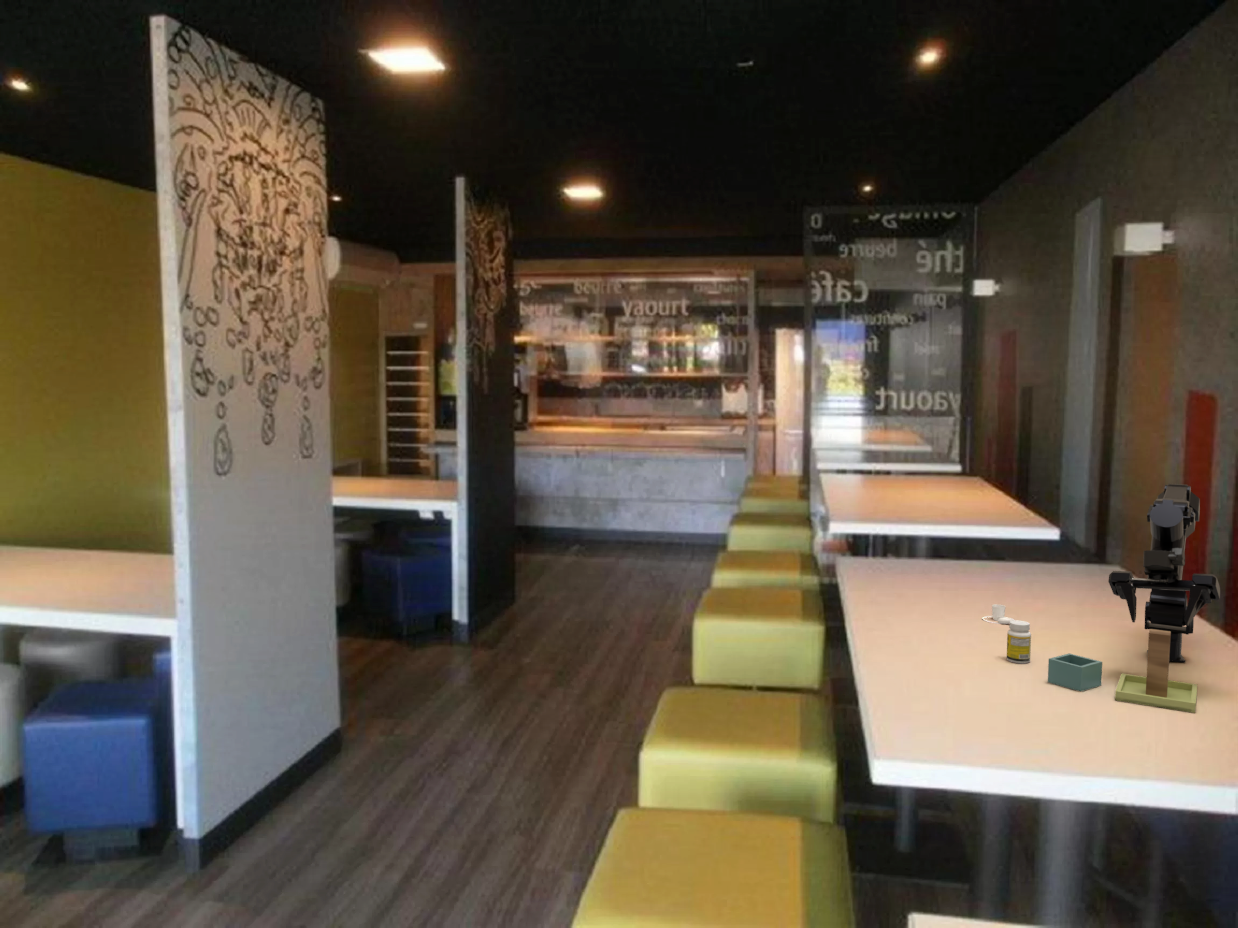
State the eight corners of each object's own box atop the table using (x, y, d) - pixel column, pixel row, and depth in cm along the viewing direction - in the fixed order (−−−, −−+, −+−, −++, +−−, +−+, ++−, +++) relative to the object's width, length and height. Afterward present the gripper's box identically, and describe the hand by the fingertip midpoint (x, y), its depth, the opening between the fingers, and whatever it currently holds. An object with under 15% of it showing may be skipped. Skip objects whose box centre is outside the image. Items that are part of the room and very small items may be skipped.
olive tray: (1121, 681, 194) (1121, 673, 194) (1196, 693, 187) (1197, 684, 187) (1115, 700, 183) (1115, 690, 183) (1195, 712, 176) (1195, 703, 176)
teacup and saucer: (1016, 627, 238) (1017, 611, 237) (982, 624, 240) (982, 608, 240) (1014, 619, 246) (1015, 603, 245) (981, 616, 248) (981, 600, 248)
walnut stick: (1146, 689, 187) (1149, 628, 186) (1167, 692, 185) (1170, 631, 184) (1145, 694, 184) (1148, 632, 183) (1166, 697, 182) (1170, 635, 181)
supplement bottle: (1010, 656, 212) (1012, 618, 211) (1033, 660, 209) (1034, 621, 208) (1003, 661, 208) (1004, 622, 207) (1026, 665, 205) (1027, 626, 204)
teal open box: (1068, 676, 198) (1069, 653, 197) (1101, 685, 192) (1102, 661, 191) (1047, 681, 194) (1048, 658, 193) (1080, 691, 188) (1081, 667, 187)
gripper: (1107, 532, 196) (1097, 599, 189) (1213, 533, 185) (1208, 604, 177) (1118, 561, 203) (1110, 627, 196) (1222, 564, 191) (1217, 634, 184)
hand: (1159, 622), depth 188 cm, fingers open, 9 cm apart
